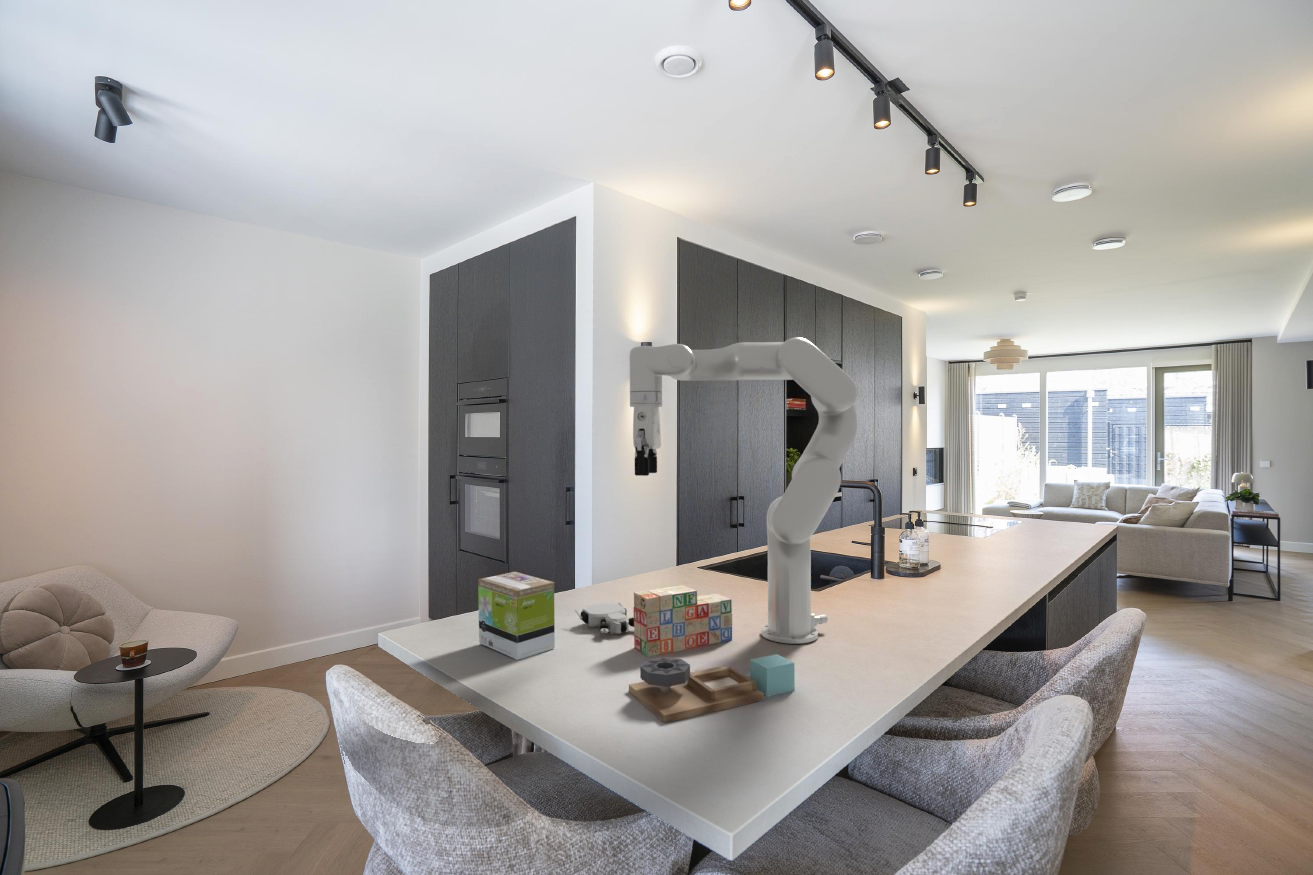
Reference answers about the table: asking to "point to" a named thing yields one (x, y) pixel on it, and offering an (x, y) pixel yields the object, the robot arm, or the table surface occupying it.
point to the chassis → (698, 694)
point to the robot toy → (607, 617)
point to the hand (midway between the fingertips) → (646, 474)
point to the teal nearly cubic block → (772, 674)
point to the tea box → (516, 614)
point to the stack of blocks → (679, 620)
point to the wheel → (665, 671)
